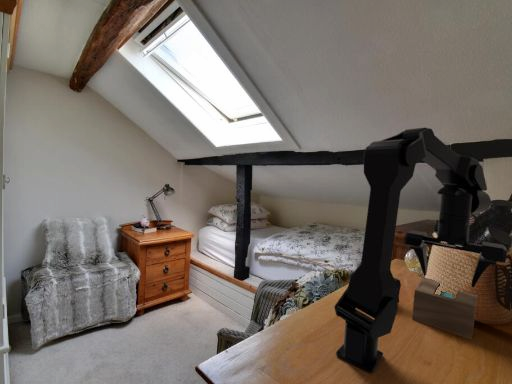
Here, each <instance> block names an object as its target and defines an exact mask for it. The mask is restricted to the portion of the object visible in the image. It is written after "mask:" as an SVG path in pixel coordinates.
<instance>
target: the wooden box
mask: <svg viewBox="0 0 512 384" xmlns="http://www.w3.org/2000/svg"><path fill="white" fill-rule="evenodd" d="M437 281H438V280H436V281H435V280H434V279H431V278H427V277H423V279H422V280H421V282H420V283H419V284H418V285H417V287H415V290H414V294H413V305H412V315H411V316H412V317H411V319H412V320H414V321H416V322H419V323H422V324H425V325H428V326H431V327H433V326H434V328H437V329H440V330H442V331H446V332H447V333H451V334H453V335H456V336H459V337H462V338H465V339H468V340H470V341H472V339H473V335H474V334H473V333H474V327H475V326H474V325H475V322H474V321H476V314H475V312H476V313H477V305H476V303H477V304H478V296H477V295H473V294H469V293H465V292H461V291H458V293H457V295H456V298H455V299H452V298H449V297H445V296H441V295H438V294H435V292H436V290H437V288H438V287H439V286H440V283H439V282H440V281H439V282H437Z"/></svg>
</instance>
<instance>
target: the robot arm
mask: <svg viewBox="0 0 512 384" xmlns="http://www.w3.org/2000/svg"><path fill="white" fill-rule="evenodd" d="M421 161H422V162H424V163H425V164H427V165H428V166H429V167H431V168H432V169H433V170H434V171H435V174H434V177H435V178H436V179H437V180H438V181H439V182H440V184H442V187H441V188H440V189H439V190H438V191H437V194H438V195H441V196H440V206H439V215H438V219H436V220H435V222H434V228H433V233H436V234H437V236H436V237H435V236H433V237H432V236H429V235H428V234H427V233H428V232H425V231H419V230H413V229H411V230H409V231H408V232H406V233H405V234H404V237H403V244H405V245H407V246H408V245H409V246H408V248H409V249H410V250H413V251H414V253H415V255H416V257H417V259H418V263H419V264H420V268H421V271H422V274H423V276H426V275H427V270H428V260H427V257H428V254H427V253H428V245H431V246H437V247H443V248H447V249H454V250H459V251H464V252H469V253H475V254H479V256H478V259H477V263H476V266H475V268H474V269H475V270H474V274H473V276H472V280H471V288H475V286H476V284H477V283H478V281H479V279H480V278H481V276H482V275H483V273H484V272H485V271H486V270H487V269H488V268H489V267H490V265H492V266H497V263H506V262H507V252H508V251H507V247H506V246H505V245H504V244H503V243H502V244H501V243H494V242H488V241H482V244H475V243H470V242H469V241H470V233H471V231H470V225H471V222H470V221H471V214H480V213H484V212H486V211H488V210H489V208H490V207H491V205H492V199H491V196H490V195H489V194H488V193H487V192H486V191H487V190H488V187H487V182H486V179H485V178H486V177H485V173H484V170H483V167H482V164H480V162H479V161H478V160H477V159H476V158H473V157H471V156H465V155H462V154H461V155H459V154H457V153H456V152H455V151H454V150H453V149H451V148H450V147H449V146H448V145H447V144H445V143H444V141H442V140H441V139H439V138H438V137H437V136H436V135H435V133H434V131H433V129H432V128H428V127H427V126H426V127H417V128H409V129H405V130H402V131H401V132H399V133H398V134H395V135H392V136H390V137H388V138H384V139H381V140H379V141H378V140H377V141H373V142H371V143H370V144H369V145H368V146H366V147H365V150H364V153H363V174H364V177H365V179H366V180H367V182H368V185H369V188H370V190H369V197H368V205H367V213H366V220H365V221H366V222H365V230H364V237H363V245H362V253H361V259H360V260H361V261H360V264H359V265H358V267H357V268H356V269H355V270H354V271H353V272H352V274H351V275H350V277H349V282H348V285H347V287H346V289H345V290H344V292H343V293H342V295H341V296H340V298H339V299H338V301H337V302H336V303H335V305H334V307H333V308H334V312H335V316H337V317H338V318H341V319H342V320H344V321H345V324H344V339H343V344H342V345H341V346H340V347H339V348H338V350H337V351H336V353H335V355H336V356H337V357H339V358H340V359H342V360H344V361H346V362H348V363H350V364H352V365H354V366H356V367H358V368H360V369H362V370H363V371H366V372H367V373H371V374H372V373H373V372H374V370H375V369H376V368H377V366H378V365H379V363H380V361H381V360H382V358H383V356H384V352H383V351H380V350H378V344H379V338H382V337H383V336H386V335H389V334H390V333H391V332H392V329H393V326H394V322H395V320H396V316H397V312H398V309H399V303H400V291H401V287H402V284H401V280H400V279H398V278H395V277H394V275H393V273H392V270H391V265H392V258H393V251H394V242H395V236H396V235H395V234H396V228H397V223H398V222H397V220H398V214H399V204H400V198H401V197H400V196H401V192H402V190H403V188H405V186H406V185H407V184H408V183H409V182H410V181H411V179H412V178H413V177H414V172H415V168H416V165H417V164H418V163H419V162H421Z"/></svg>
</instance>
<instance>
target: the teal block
mask: <svg viewBox="0 0 512 384" xmlns="http://www.w3.org/2000/svg"><path fill="white" fill-rule="evenodd" d="M440 295H441V296H445V297H449V298H452V299H453V297H454V295H452V294H449V293H446V292H442V291H441V294H440Z"/></svg>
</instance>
